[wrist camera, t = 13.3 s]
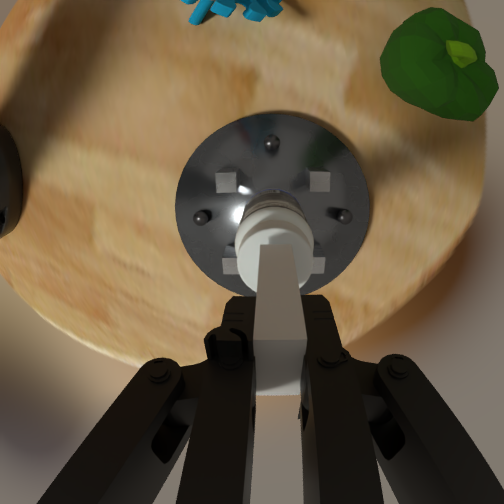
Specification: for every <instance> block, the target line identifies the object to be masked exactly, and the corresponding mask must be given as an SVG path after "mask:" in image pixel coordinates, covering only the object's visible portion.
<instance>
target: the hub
mask: <svg viewBox="0 0 504 504" xmlns="http://www.w3.org/2000/svg"><path fill="white" fill-rule="evenodd" d="M268 188H277V189H282V190H285V191H287V192H289V193H290V194H292V195H293V196H294V197H295V198H296V199H297V201H298V202H299V204H300V206H301V208H302V211H303V213H304V214H305V217H306V220H307V222H308V224H309V226H310V228H311V231H312V234H313V239H314V249H313V262H314V263H313V269H312V272H311V275H310V277H309V279H308V280H307V282H306V283H305V284H304V285H303V286H302V287H301V288H300V289H299V290H300V295H305V294H308V293H311V292H313V291H315V290H318V289H319V288H321V287H323V286H325V285H326V284H328V283H329V282H331V281H332V280H333V279H335V278H336V277H337V276H338V275H339V274H340V273H341V272H343V271H344V270H345V269H346V267H347V266H348V265H349V264H350V262H351V261H352V260H353V258H354V257H355V255H356V254H357V252H358V251H359V248H360V246H361V244H362V242H363V240H364V237H365V234H366V230H367V226H368V221H369V208H370V203H369V193H368V188H367V184H366V180H365V178H364V175H363V173H362V170H361V168H360V166H359V164H358V162H357V161H356V159H355V157H354V156H353V155H352V153H351V152H350V151H349V149H348V148H347V147H346V146H345V145H344V144H343V143H342V142H341V141H340V140H339V139H338V138H337V137H336V136H334V135H333V134H332V133H330V132H329V131H328V130H326V129H325V128H323V127H321V126H319V125H317V124H315V123H313V122H311V121H308V120H305V119H302V118H299V117H295V116H290V115H283V114H262V115H254V116H250V117H246V118H242V119H239V120H237V121H234V122H232V123H229V124H227V125H226V126H224V127H222V128H220V129H218V130H217V131H216V132H214V133H213V134H212V135H210V136H209V137H208V138H206V139H205V140H204V141H203V142H202V143H201V144H200V145H199V146H198V148H197V149H196V150H195V151H194V153H193V154H192V155H191V157H190V158H189V160H188V162H187V164H186V166H185V167H184V169H183V172H182V174H181V177H180V180H179V183H178V187H177V192H176V201H175V212H176V221H177V226H178V231H179V234H180V237H181V240H182V242H183V244H184V246H185V248H186V250H187V252H188V254H189V255H190V257H191V258H192V260H193V261H194V262H195V264H196V265H197V266H198V267H199V268H200V269H201V271H203V272H204V273H205V274H206V275H207V276H208V277H209V278H210V279H212V280H213V281H215V282H216V283H217V284H219V285H221V286H222V287H224V288H226V289H228V290H230V291H232V292H235V293H237V294H240V295H243V296H256V295H257V292H255V291H253V290H252V289H251V288H249V287H248V286H247V285H246V284H245V283H244V281H243V280H242V278H241V276H240V274H239V271H238V267H237V256H236V252H235V237H236V233H237V230H238V226H239V223H240V220H241V216H242V213H243V210H244V207H245V205H246V203H247V202H248V200H249V199H250V198H251V197H252V196H253V195H254V194H255V193H257V192H259V191H261V190H264V189H268Z"/></svg>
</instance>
